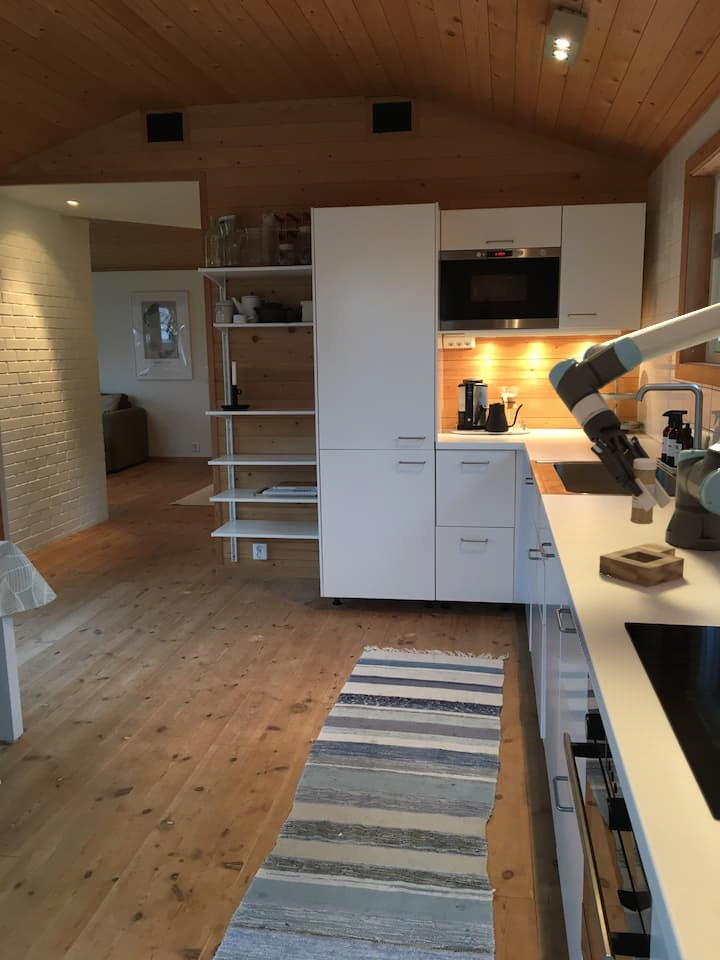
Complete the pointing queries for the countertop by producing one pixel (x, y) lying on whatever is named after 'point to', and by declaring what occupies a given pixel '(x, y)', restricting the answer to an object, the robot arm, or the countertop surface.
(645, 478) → the sprinkles bottle
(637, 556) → the socket block
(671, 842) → the countertop surface
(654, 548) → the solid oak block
